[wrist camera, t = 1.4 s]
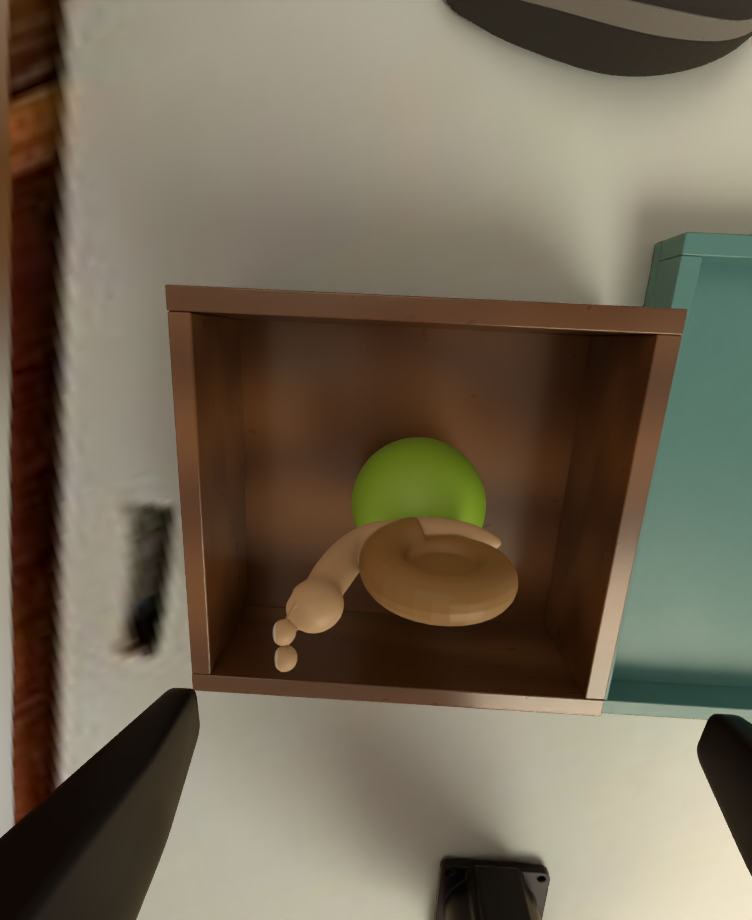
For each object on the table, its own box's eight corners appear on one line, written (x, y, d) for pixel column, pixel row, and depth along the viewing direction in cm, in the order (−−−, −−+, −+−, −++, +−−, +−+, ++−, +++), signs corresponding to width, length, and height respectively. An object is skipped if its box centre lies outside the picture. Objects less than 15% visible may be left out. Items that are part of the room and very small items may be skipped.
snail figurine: (334, 425, 20) (259, 535, 9) (476, 426, 20) (590, 540, 9) (336, 535, 22) (275, 755, 10) (469, 537, 22) (560, 763, 10)
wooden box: (554, 632, 23) (601, 716, 18) (236, 613, 24) (192, 690, 18) (608, 317, 19) (688, 309, 14) (224, 299, 20) (164, 284, 14)
